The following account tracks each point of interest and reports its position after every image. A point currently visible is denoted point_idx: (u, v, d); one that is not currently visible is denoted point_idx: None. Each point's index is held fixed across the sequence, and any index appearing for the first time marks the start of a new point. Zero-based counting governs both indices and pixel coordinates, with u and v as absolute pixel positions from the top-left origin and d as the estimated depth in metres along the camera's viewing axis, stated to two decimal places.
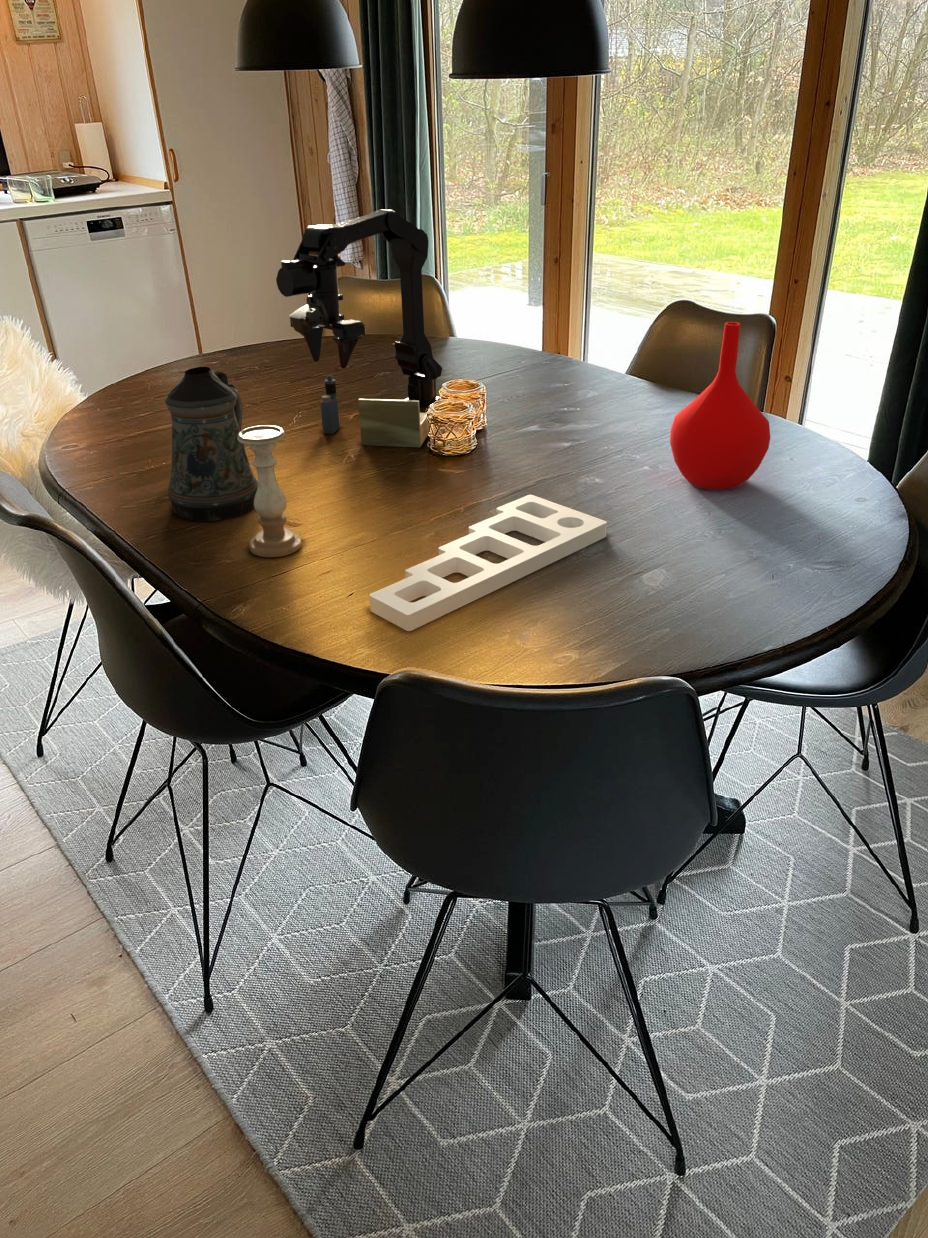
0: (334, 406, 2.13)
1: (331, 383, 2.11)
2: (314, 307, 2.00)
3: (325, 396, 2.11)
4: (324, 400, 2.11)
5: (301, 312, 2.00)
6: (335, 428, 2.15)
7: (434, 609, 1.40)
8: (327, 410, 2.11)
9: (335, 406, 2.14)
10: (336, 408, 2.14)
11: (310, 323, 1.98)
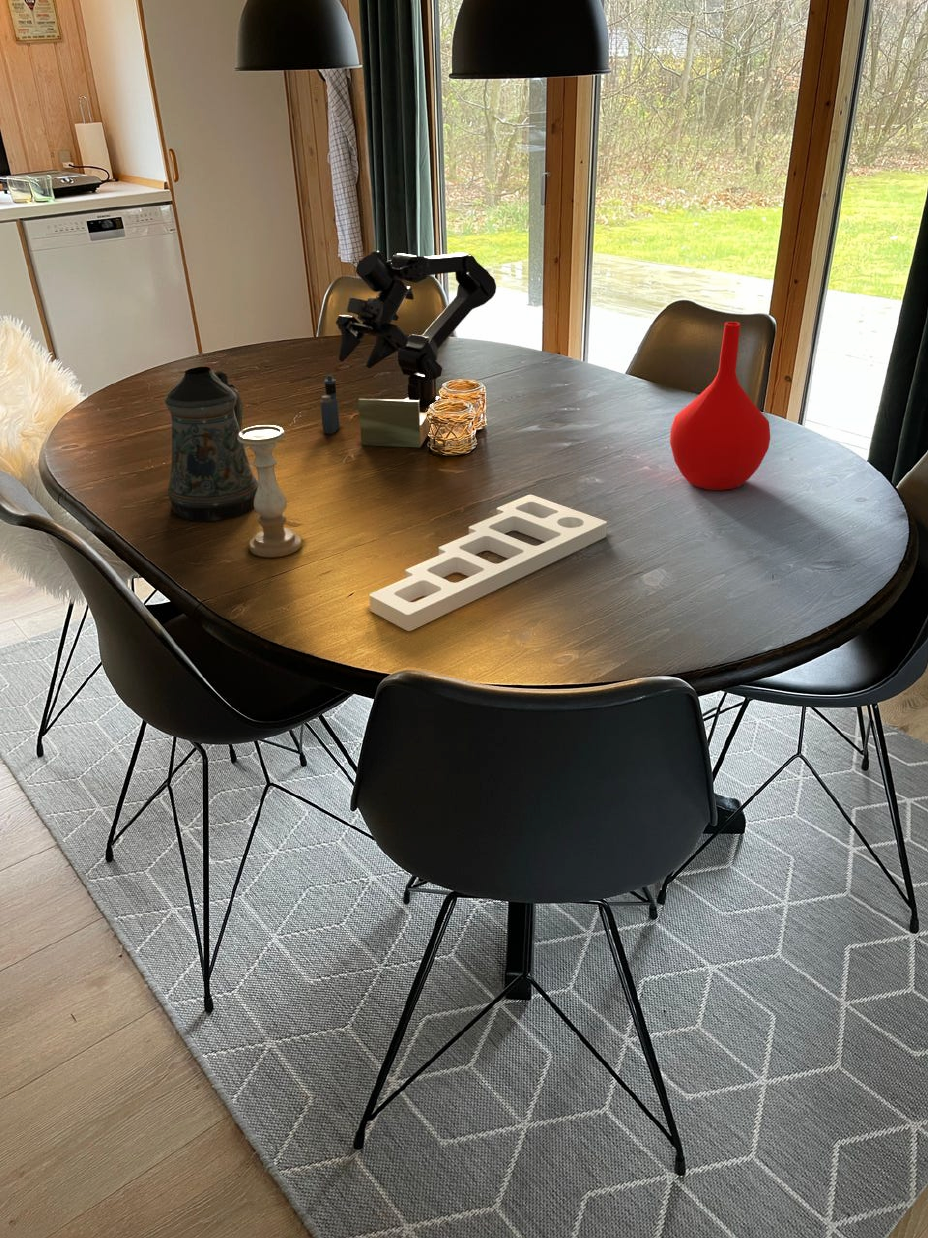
0: (334, 406, 2.13)
1: (331, 383, 2.11)
2: None
3: (325, 396, 2.11)
4: (324, 400, 2.11)
5: None
6: (335, 428, 2.15)
7: (434, 609, 1.40)
8: (327, 410, 2.11)
9: (335, 406, 2.14)
10: (336, 408, 2.14)
11: (367, 306, 2.08)
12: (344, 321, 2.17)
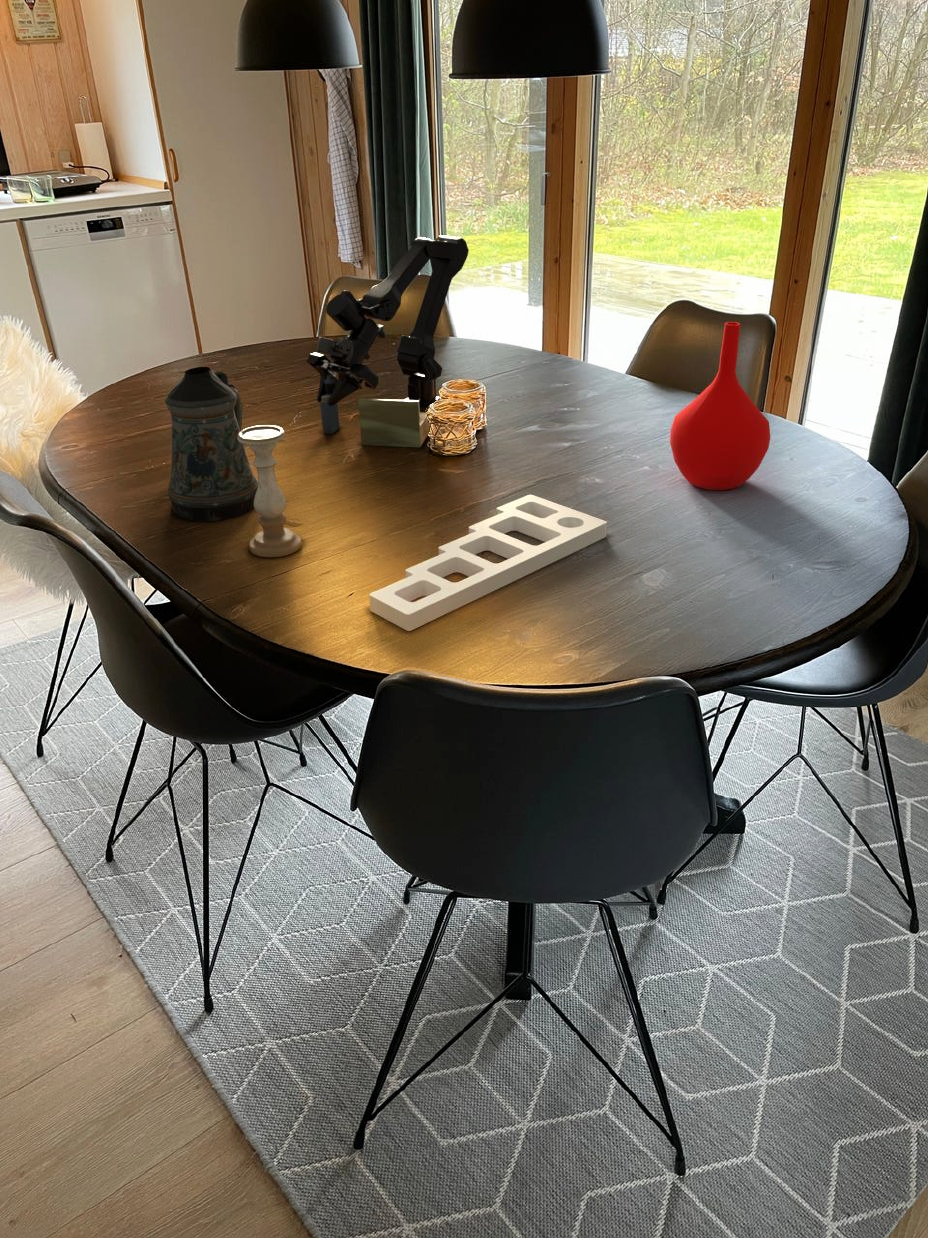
0: (334, 406, 2.13)
1: (331, 383, 2.11)
2: None
3: (325, 396, 2.11)
4: (324, 400, 2.11)
5: None
6: (335, 428, 2.15)
7: (434, 609, 1.40)
8: (327, 410, 2.11)
9: (335, 406, 2.14)
10: (336, 408, 2.14)
11: (337, 347, 2.05)
12: (315, 360, 2.14)
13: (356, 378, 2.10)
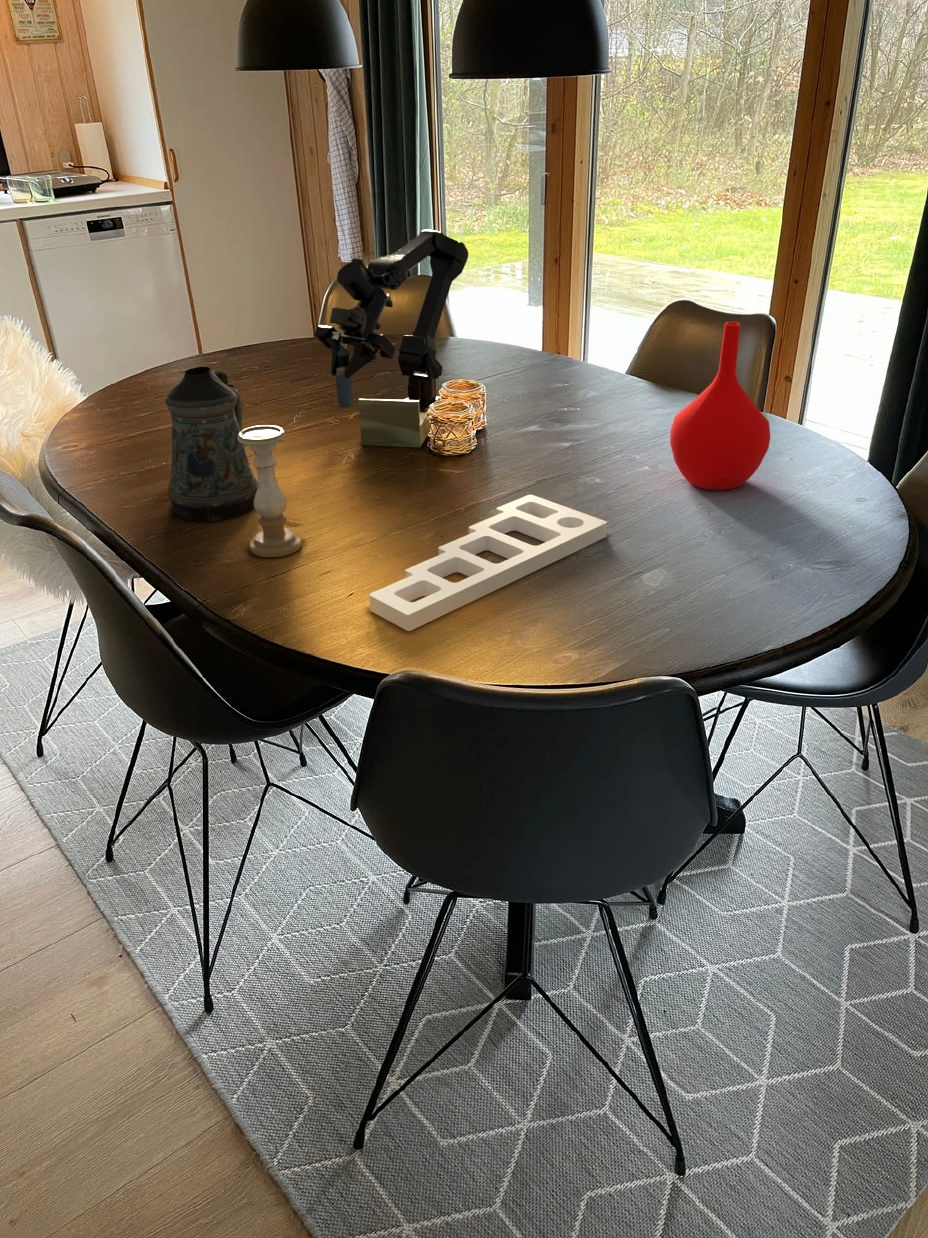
0: (349, 378, 2.08)
1: (345, 355, 2.06)
2: None
3: (340, 368, 2.06)
4: (340, 372, 2.05)
5: None
6: (350, 401, 2.10)
7: (434, 609, 1.40)
8: (343, 383, 2.06)
9: (349, 378, 2.09)
10: (350, 380, 2.09)
11: (353, 316, 2.00)
12: (324, 332, 2.08)
13: (372, 348, 2.05)
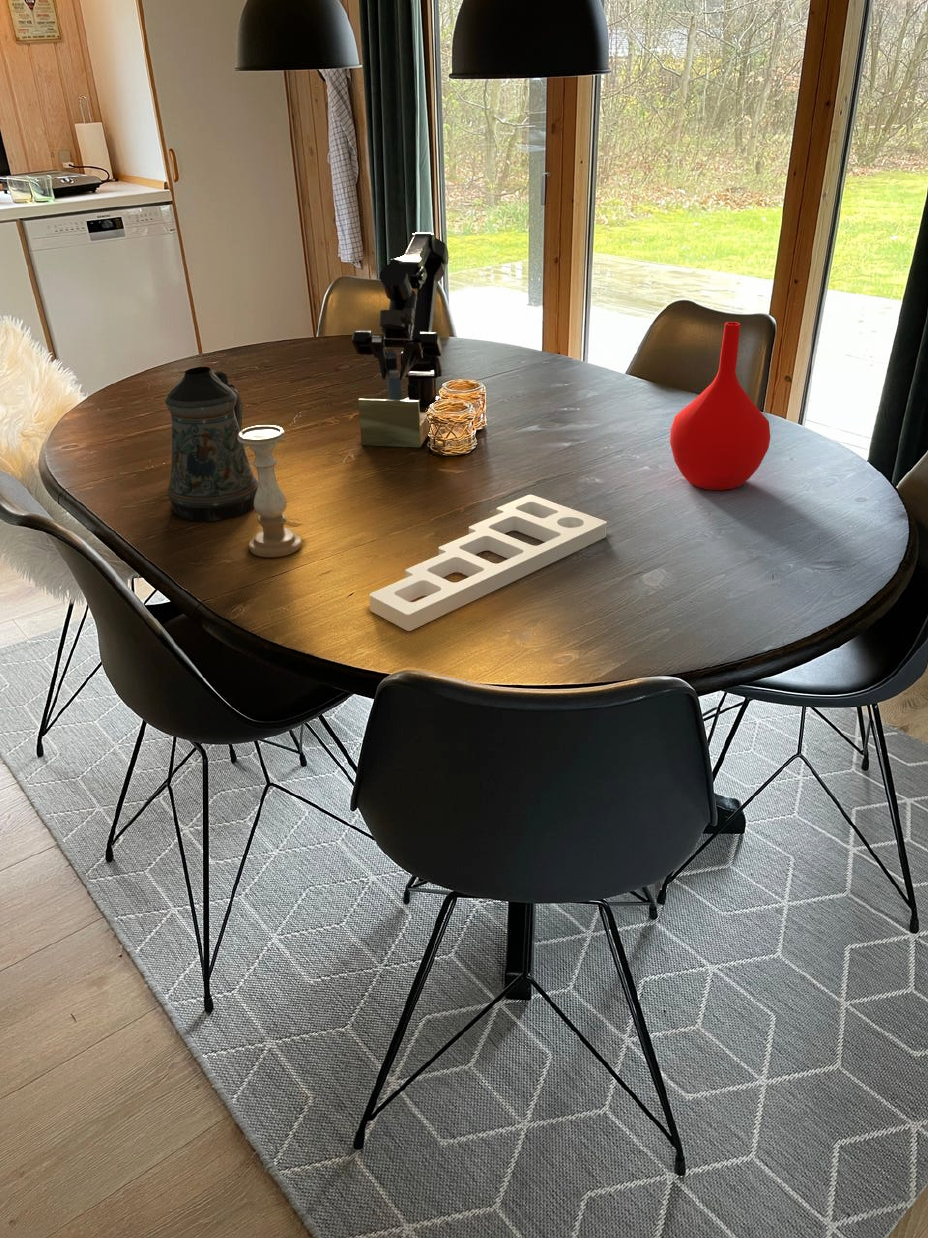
0: None
1: (395, 357, 2.04)
2: None
3: (393, 371, 2.03)
4: (395, 375, 2.03)
5: None
6: None
7: (434, 609, 1.40)
8: (398, 385, 2.04)
9: None
10: None
11: (408, 317, 1.99)
12: (365, 337, 2.04)
13: (421, 348, 2.05)
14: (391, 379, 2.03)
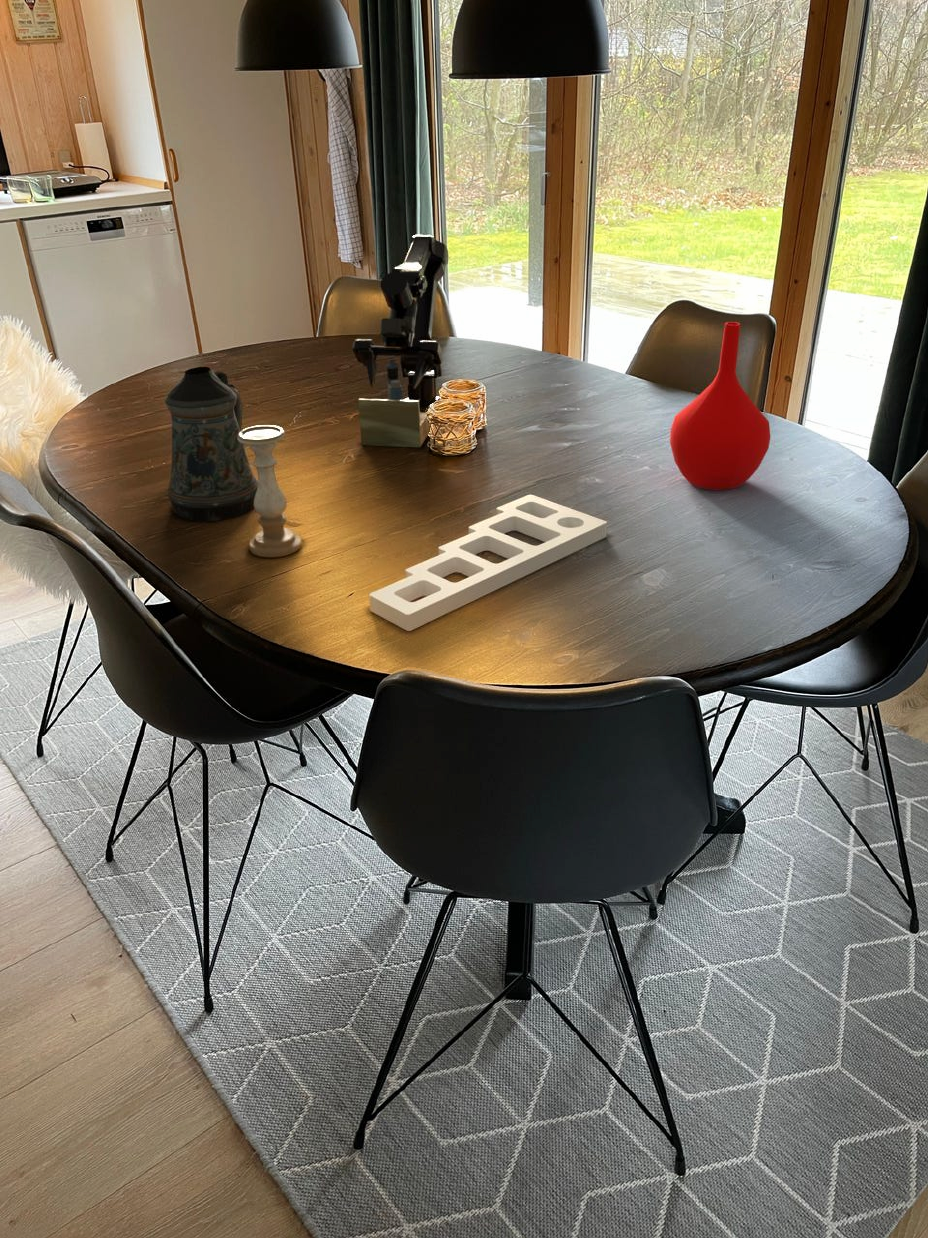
0: None
1: (396, 367, 2.05)
2: None
3: (394, 381, 2.04)
4: (396, 385, 2.04)
5: None
6: None
7: (434, 609, 1.40)
8: (399, 395, 2.05)
9: None
10: None
11: (408, 325, 2.00)
12: (366, 345, 2.05)
13: (433, 356, 2.05)
14: (392, 389, 2.04)
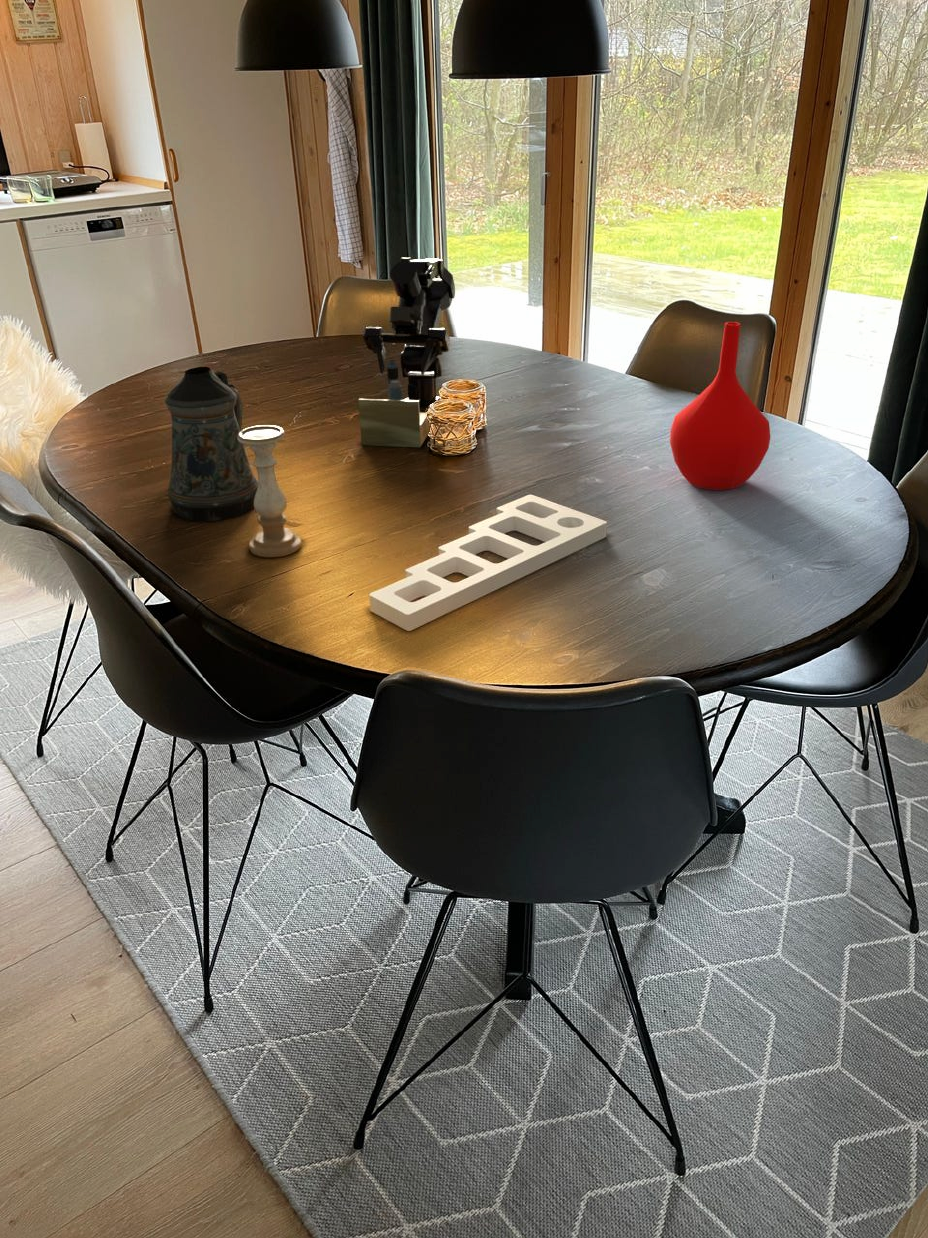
0: None
1: (396, 367, 2.05)
2: None
3: (394, 381, 2.04)
4: (396, 385, 2.04)
5: None
6: None
7: (434, 609, 1.40)
8: (399, 395, 2.05)
9: None
10: None
11: (417, 313, 2.07)
12: (376, 333, 2.12)
13: (441, 343, 2.12)
14: (392, 389, 2.04)
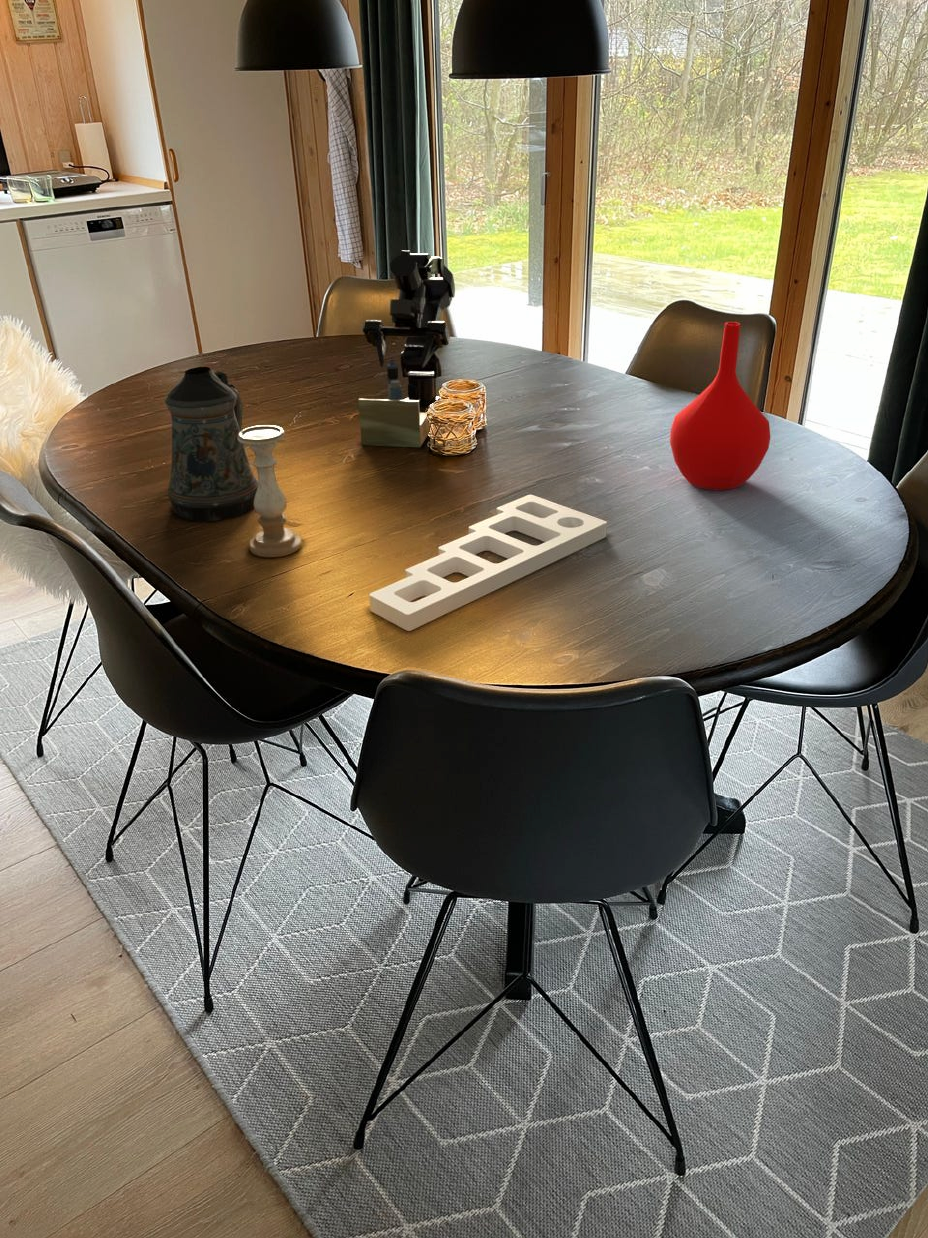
0: None
1: (396, 367, 2.05)
2: None
3: (394, 381, 2.04)
4: (396, 385, 2.04)
5: None
6: None
7: (434, 609, 1.40)
8: (399, 395, 2.05)
9: None
10: None
11: (417, 306, 2.06)
12: (376, 326, 2.11)
13: (441, 336, 2.12)
14: (392, 389, 2.04)
